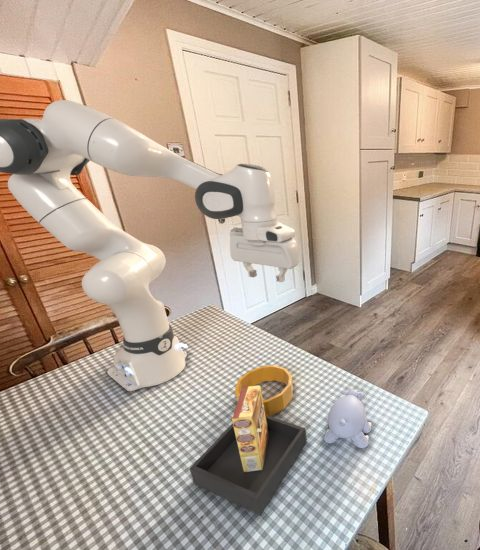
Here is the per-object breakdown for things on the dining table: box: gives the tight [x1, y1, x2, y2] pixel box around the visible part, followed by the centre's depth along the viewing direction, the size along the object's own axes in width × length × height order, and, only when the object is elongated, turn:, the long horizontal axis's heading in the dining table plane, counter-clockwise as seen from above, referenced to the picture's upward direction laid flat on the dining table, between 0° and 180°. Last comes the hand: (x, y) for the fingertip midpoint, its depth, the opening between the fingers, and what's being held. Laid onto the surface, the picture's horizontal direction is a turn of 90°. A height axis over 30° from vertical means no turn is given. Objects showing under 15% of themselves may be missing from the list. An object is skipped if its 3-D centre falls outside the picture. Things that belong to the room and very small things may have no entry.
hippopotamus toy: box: [323, 388, 373, 449], centre depth 74 cm, size 11×15×10 cm
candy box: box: [231, 385, 269, 472], centre depth 65 cm, size 9×4×15 cm, turn 9°
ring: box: [234, 364, 294, 417], centre depth 84 cm, size 15×15×5 cm
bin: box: [189, 414, 307, 517], centre depth 66 cm, size 17×17×5 cm
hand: (266, 278), depth 84 cm, fingers open, 8 cm apart
